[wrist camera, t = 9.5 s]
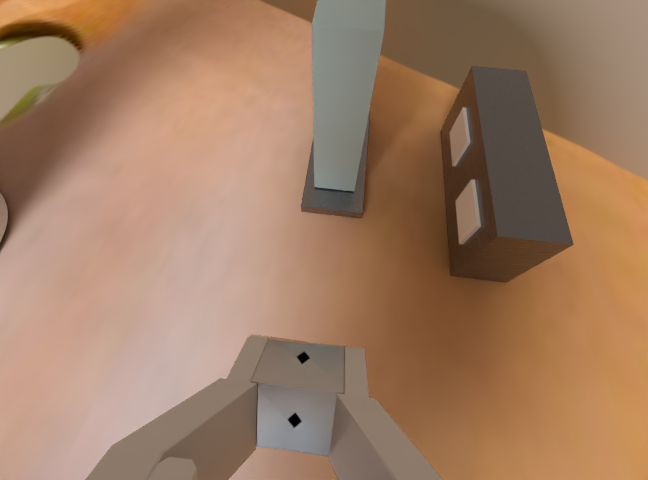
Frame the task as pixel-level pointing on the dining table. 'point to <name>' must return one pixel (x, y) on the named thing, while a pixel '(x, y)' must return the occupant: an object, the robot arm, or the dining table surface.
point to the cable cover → (343, 85)
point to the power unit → (499, 180)
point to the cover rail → (332, 198)
